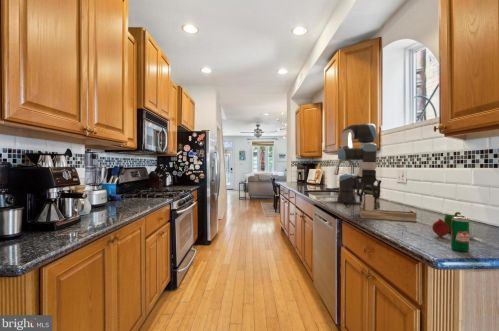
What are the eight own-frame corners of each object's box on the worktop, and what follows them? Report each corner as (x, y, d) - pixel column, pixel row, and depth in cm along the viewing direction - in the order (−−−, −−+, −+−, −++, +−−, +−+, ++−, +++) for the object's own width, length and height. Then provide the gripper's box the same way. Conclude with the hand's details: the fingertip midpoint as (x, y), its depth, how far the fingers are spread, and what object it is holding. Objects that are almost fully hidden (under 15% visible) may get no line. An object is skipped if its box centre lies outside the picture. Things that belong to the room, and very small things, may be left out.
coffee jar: (360, 212, 161) (361, 184, 161) (368, 211, 165) (368, 183, 165) (374, 215, 153) (374, 185, 153) (382, 214, 157) (382, 184, 157)
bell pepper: (442, 229, 120) (443, 209, 120) (465, 232, 116) (465, 210, 116) (445, 233, 113) (445, 211, 113) (469, 236, 109) (469, 213, 109)
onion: (451, 237, 107) (451, 219, 107) (445, 239, 104) (445, 220, 104) (436, 234, 112) (436, 216, 112) (429, 236, 109) (429, 217, 109)
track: (359, 214, 155) (359, 206, 155) (411, 218, 146) (411, 209, 146) (361, 218, 146) (361, 209, 146) (417, 221, 136) (417, 212, 136)
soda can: (456, 252, 89) (457, 218, 89) (447, 247, 94) (448, 215, 94) (472, 253, 88) (472, 219, 88) (462, 248, 93) (463, 216, 93)
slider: (364, 211, 152) (364, 194, 152) (371, 212, 150) (372, 194, 150) (365, 213, 148) (365, 195, 148) (372, 213, 146) (373, 195, 146)
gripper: (352, 168, 148) (351, 207, 149) (387, 170, 142) (385, 210, 143) (352, 168, 156) (351, 205, 156) (385, 169, 149) (383, 208, 150)
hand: (367, 208), depth 149 cm, fingers open, 5 cm apart
